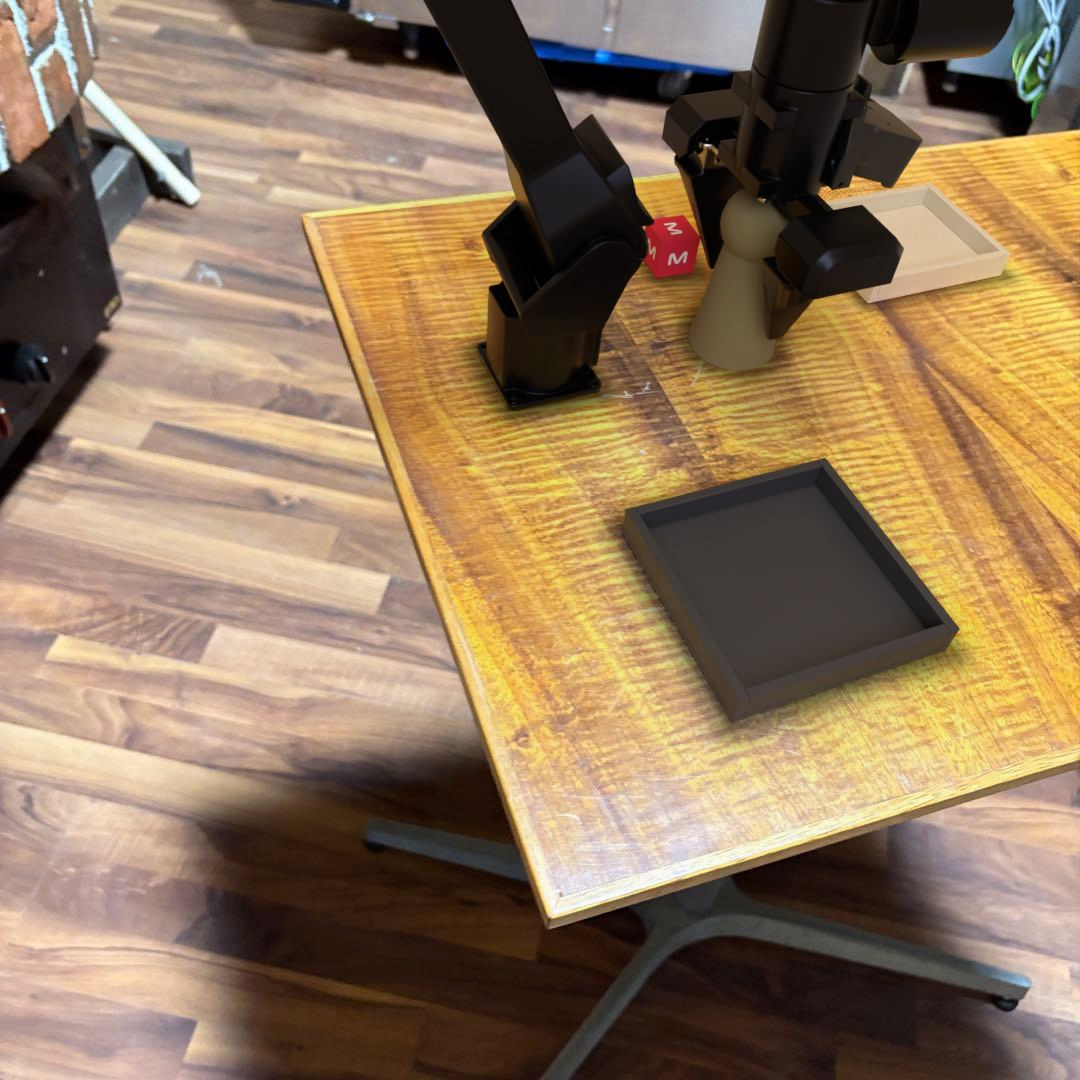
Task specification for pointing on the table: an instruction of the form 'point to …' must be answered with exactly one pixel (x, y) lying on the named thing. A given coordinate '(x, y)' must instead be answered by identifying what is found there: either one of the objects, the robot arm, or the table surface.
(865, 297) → the light tray
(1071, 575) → the table surface
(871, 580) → the dark tray
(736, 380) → the table surface
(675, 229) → the red letter m cube
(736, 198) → the tan game pawn
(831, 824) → the table surface
